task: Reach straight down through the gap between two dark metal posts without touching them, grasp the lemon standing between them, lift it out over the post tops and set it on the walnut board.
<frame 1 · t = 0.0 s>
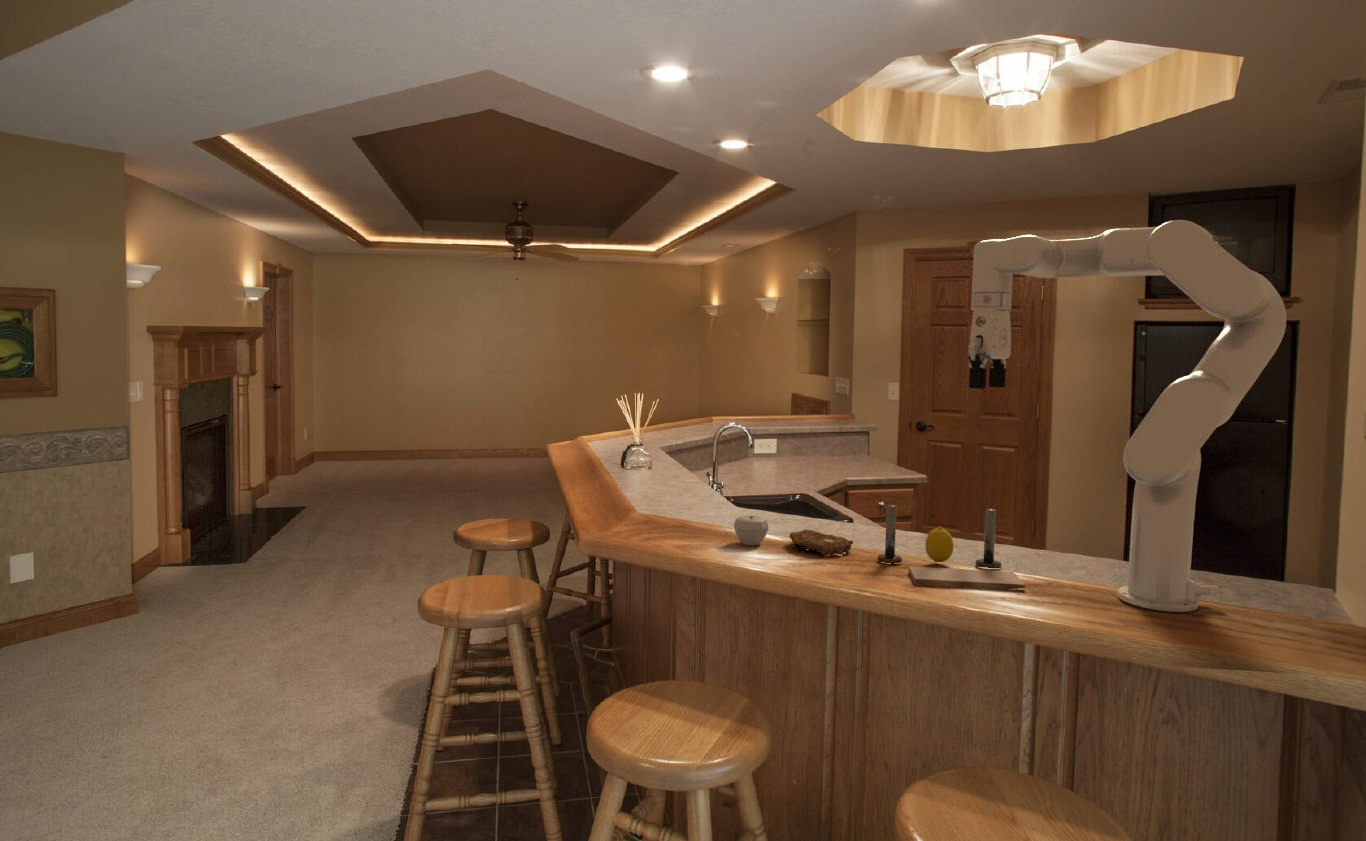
hand: (987, 387, 164), 37 cm above the table, tool pointing down, fingers open, 9 cm apart
post far side: (889, 561, 171), on the table
walnut board: (964, 581, 157), on the table
decorative rock: (817, 551, 181), on the table
apple: (750, 544, 185), on the table
post arm side: (988, 566, 168), on the table
lemon: (938, 565, 169), on the table
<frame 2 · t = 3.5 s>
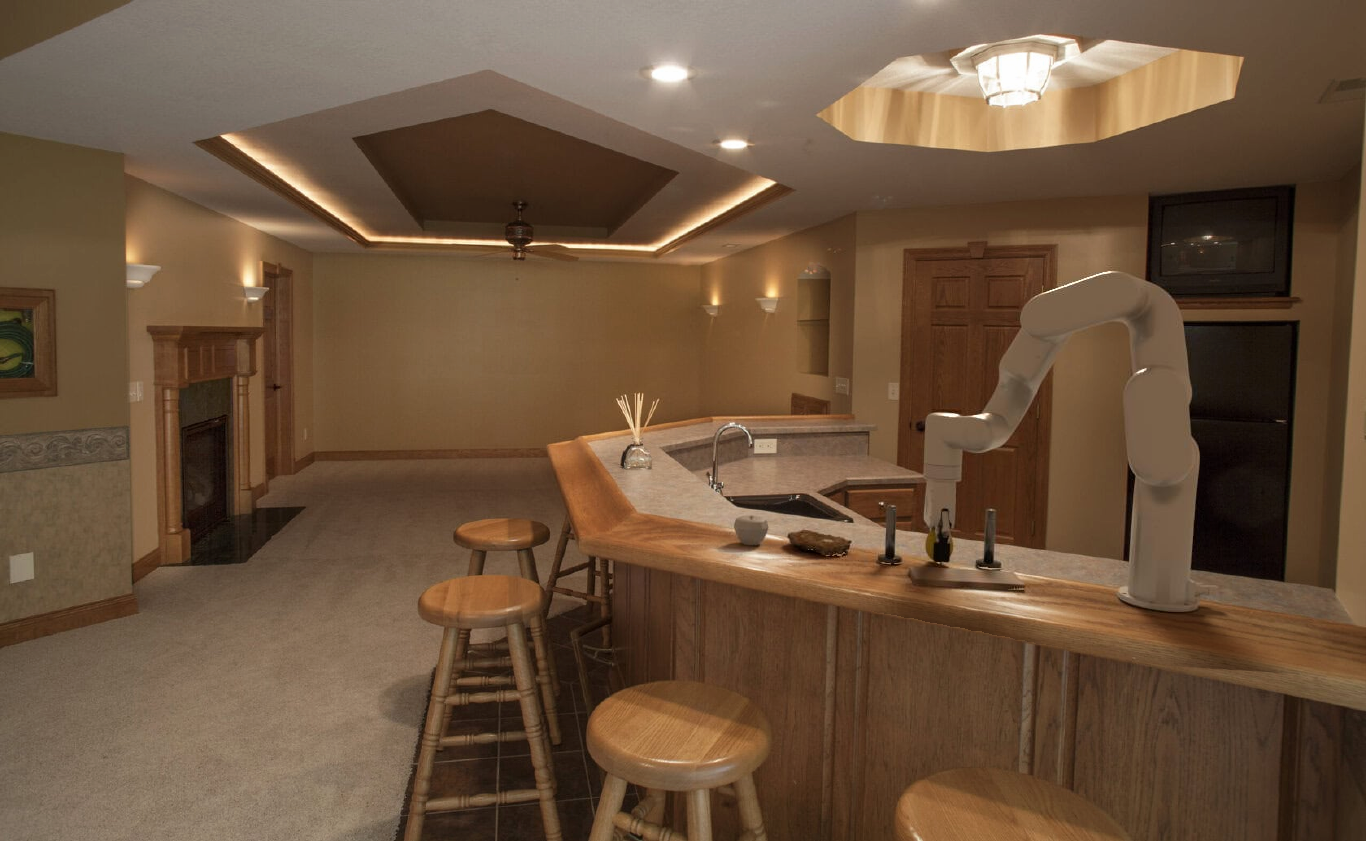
hand: (938, 557, 169), 2 cm above the table, tool pointing down, fingers closed on lemon, 5 cm apart
lemon: (938, 565, 169), on the table, touching gripper
everything else where it was.
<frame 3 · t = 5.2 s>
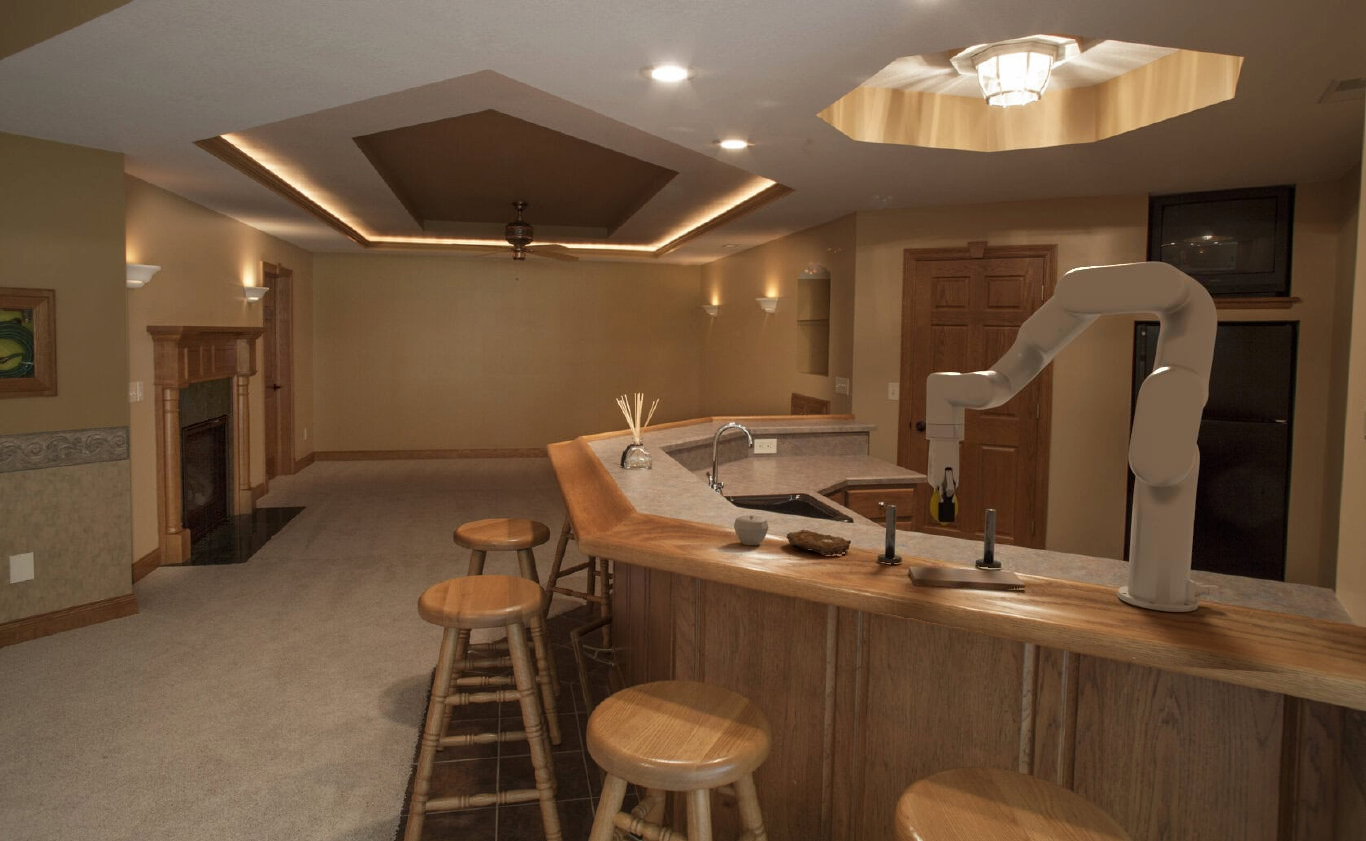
hand: (943, 518, 168), 10 cm above the table, tool pointing down, fingers closed on lemon, 5 cm apart
lemon: (943, 526, 168), point 8 cm above the table, touching gripper
everything else where it was.
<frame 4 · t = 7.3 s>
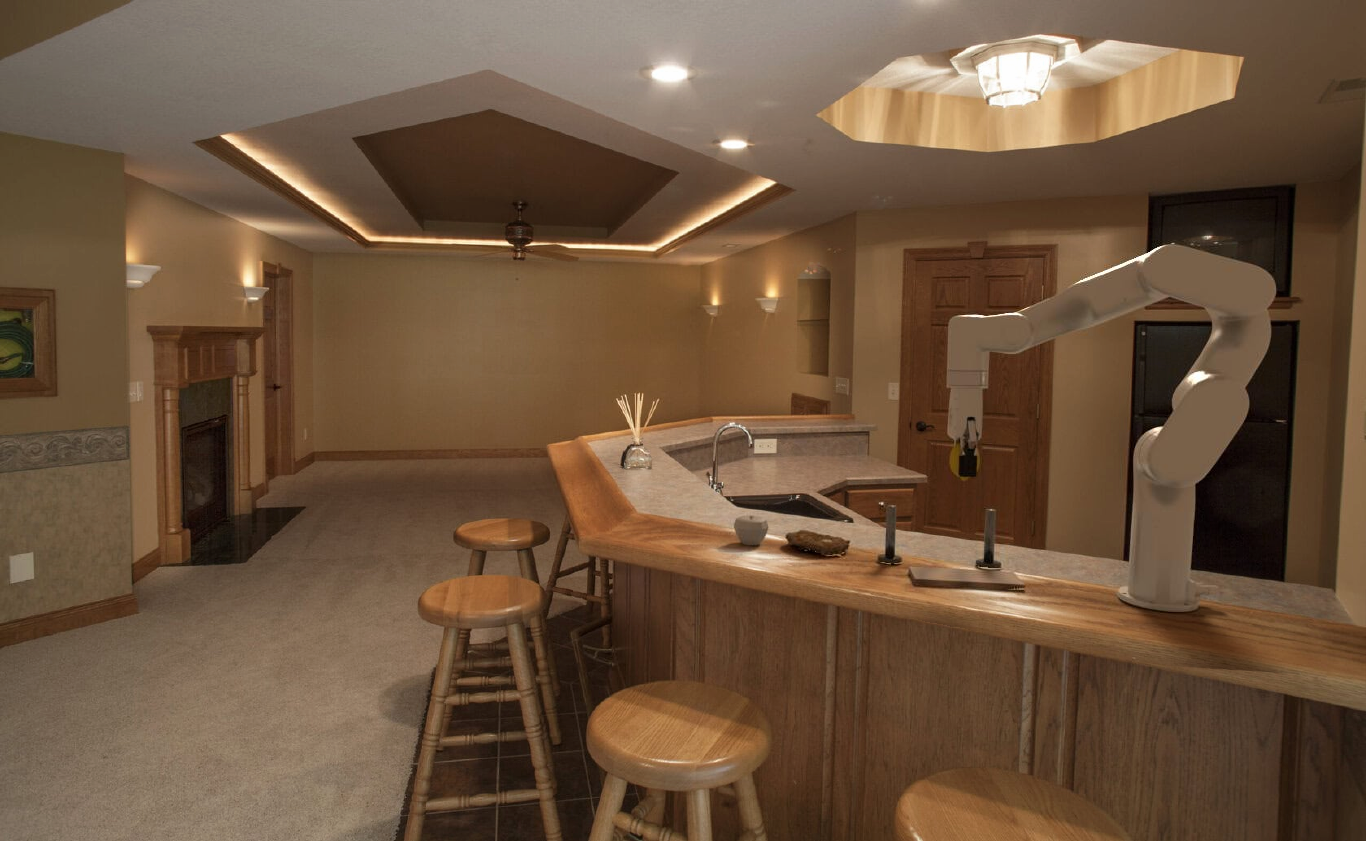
hand: (964, 473, 156), 21 cm above the table, tool pointing down, fingers closed on lemon, 5 cm apart
lemon: (963, 482, 156), point 19 cm above the table, touching gripper
everything else where it was.
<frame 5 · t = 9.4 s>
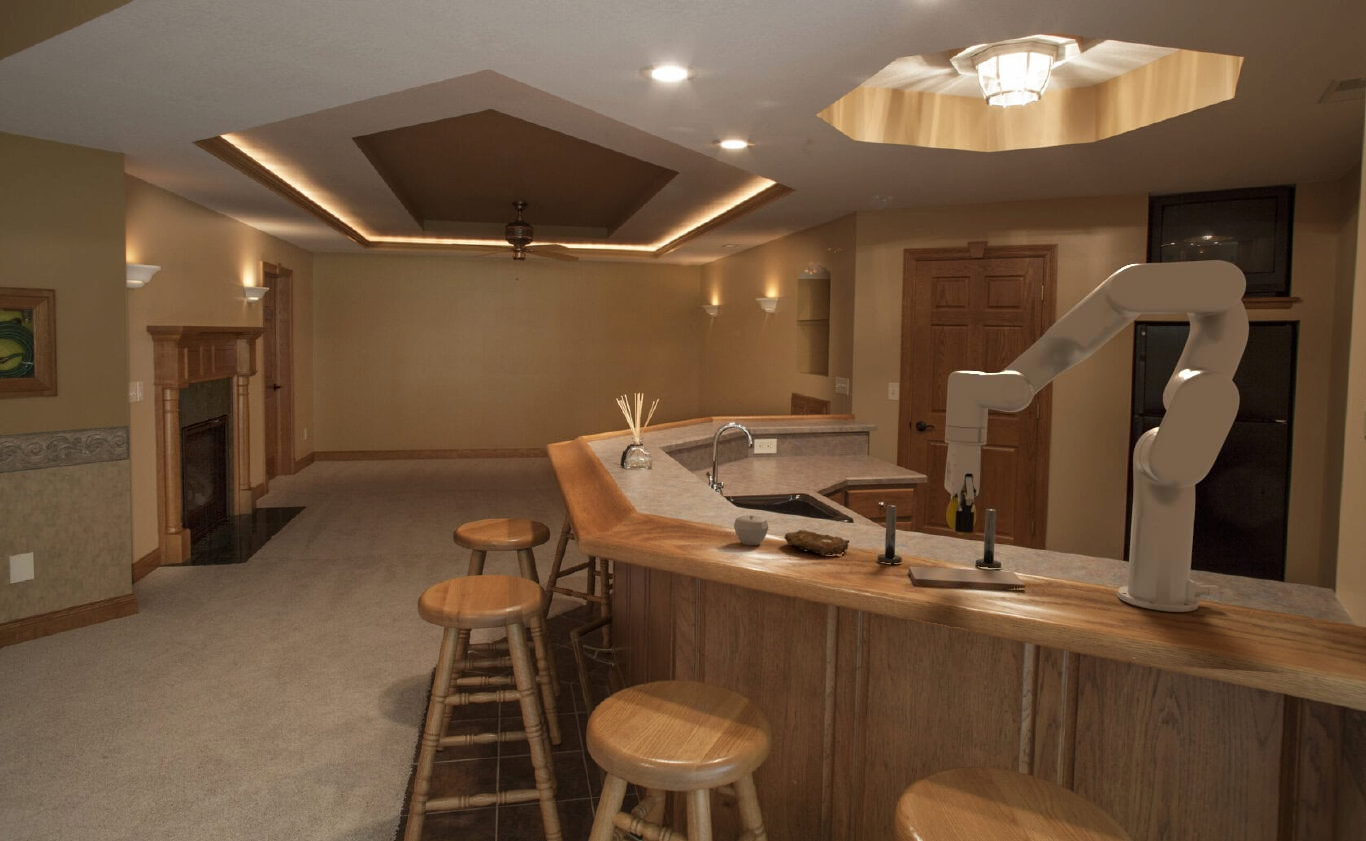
hand: (960, 527, 156), 11 cm above the table, tool pointing down, fingers closed on lemon, 5 cm apart
lemon: (960, 536, 156), point 9 cm above the table, touching gripper
when the fingers open (4 cm above the table, at t = 11.1 s): lemon drops 1 cm, resting on walnut board.
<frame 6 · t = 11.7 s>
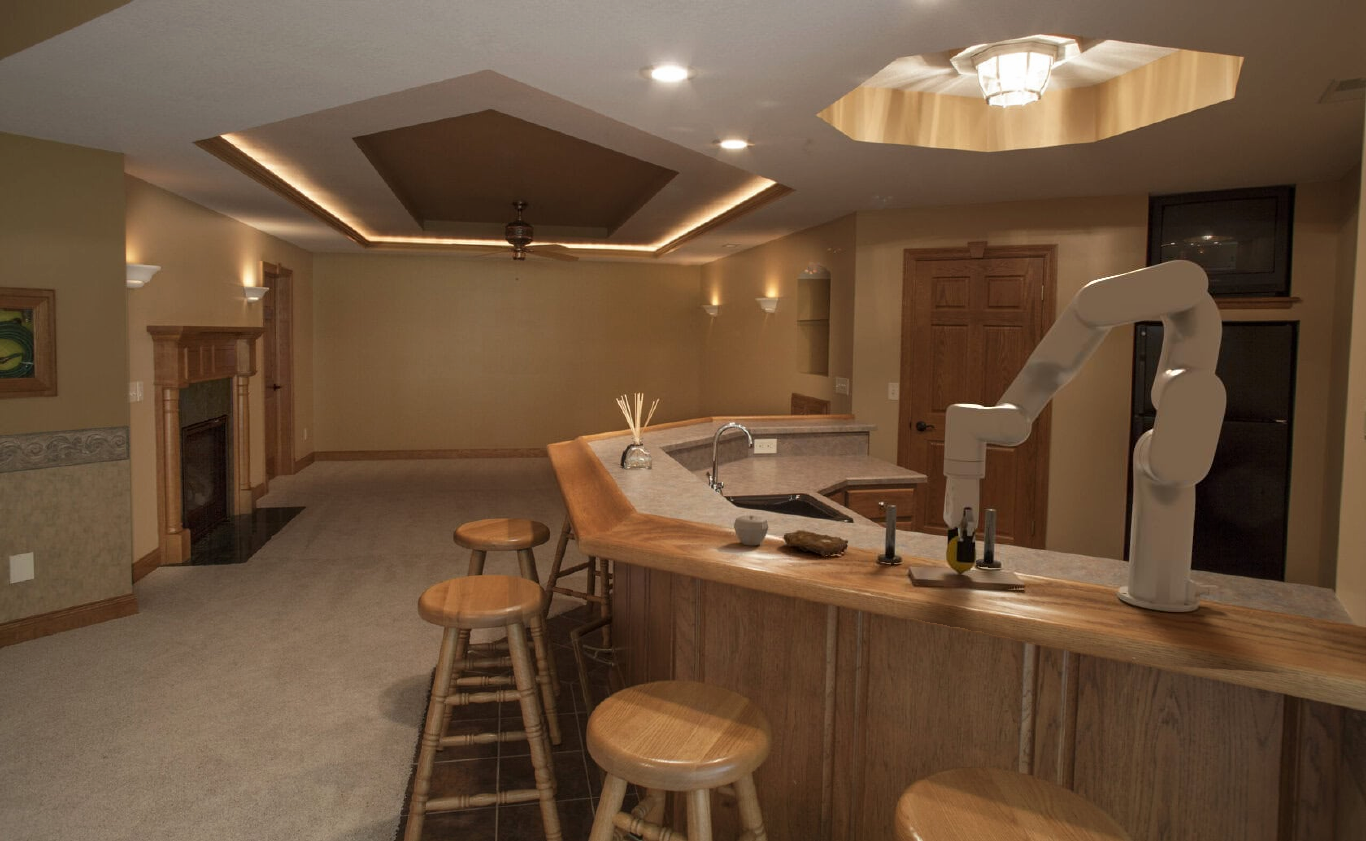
hand: (960, 555, 157), 5 cm above the table, tool pointing down, fingers open, 9 cm apart
lemon: (959, 575, 157), point 1 cm above the table, touching walnut board
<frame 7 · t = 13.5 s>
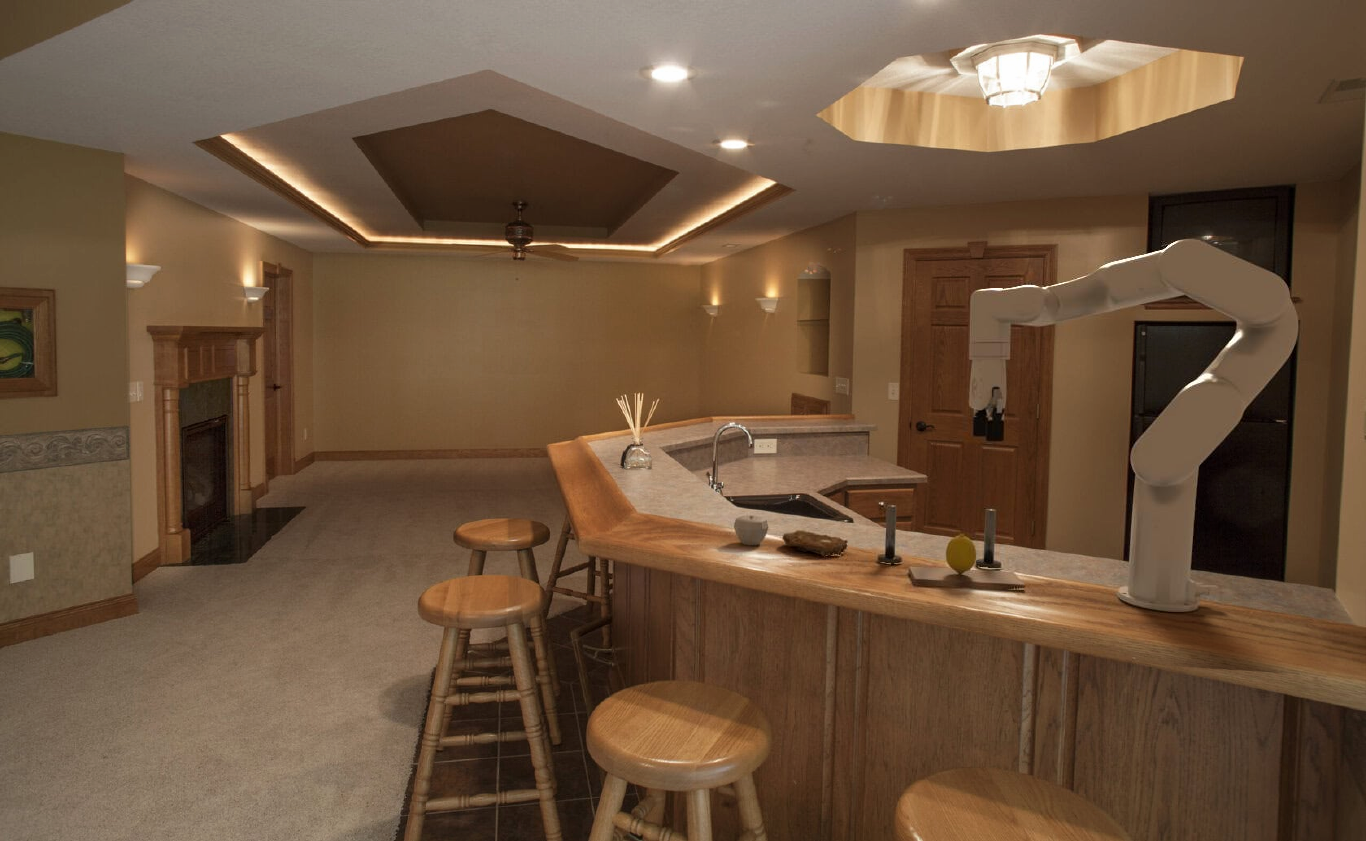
hand: (987, 438, 161), 27 cm above the table, tool pointing down, fingers open, 9 cm apart
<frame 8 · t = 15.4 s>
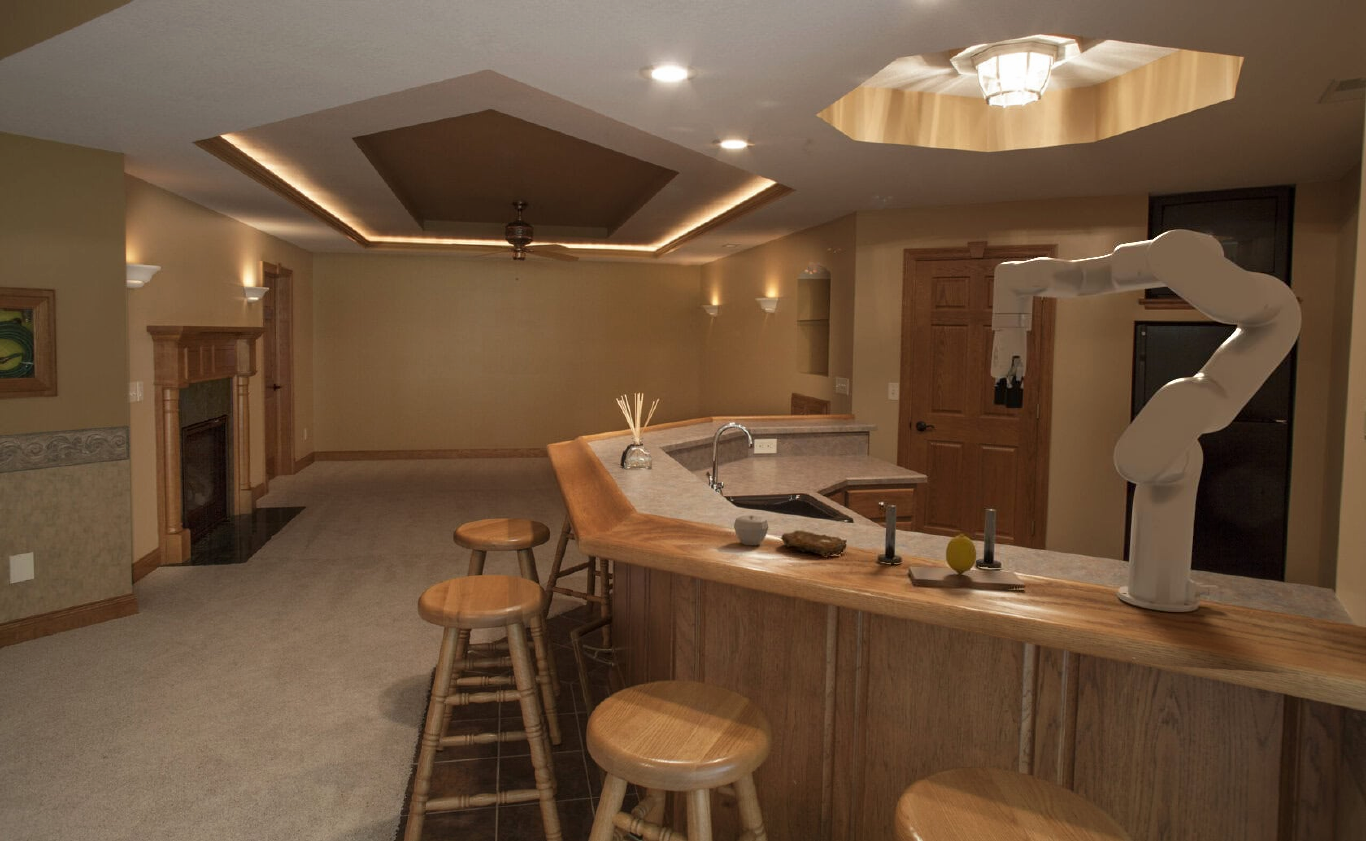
hand: (1007, 406, 167), 33 cm above the table, tool pointing down, fingers open, 9 cm apart
at the end: lemon inside the target area on the walnut board (0.9 cm from its centre), point 1.0 cm above the walnut board's base; post arm side moved 0.0 cm from its start; post far side moved 0.0 cm from its start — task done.
